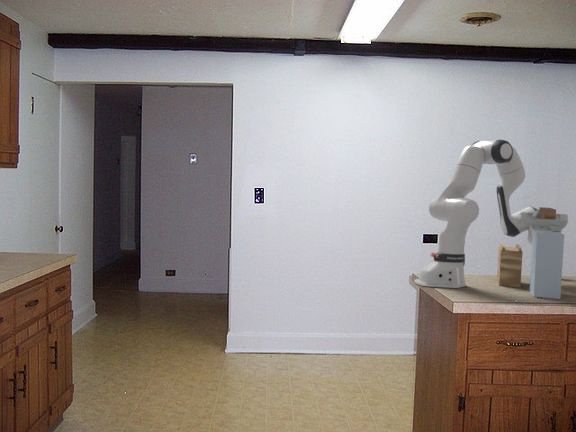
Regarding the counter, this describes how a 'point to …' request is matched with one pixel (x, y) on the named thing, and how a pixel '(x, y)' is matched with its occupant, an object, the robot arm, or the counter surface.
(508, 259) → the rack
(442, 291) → the counter surface
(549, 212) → the walnut bar
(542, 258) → the stand
